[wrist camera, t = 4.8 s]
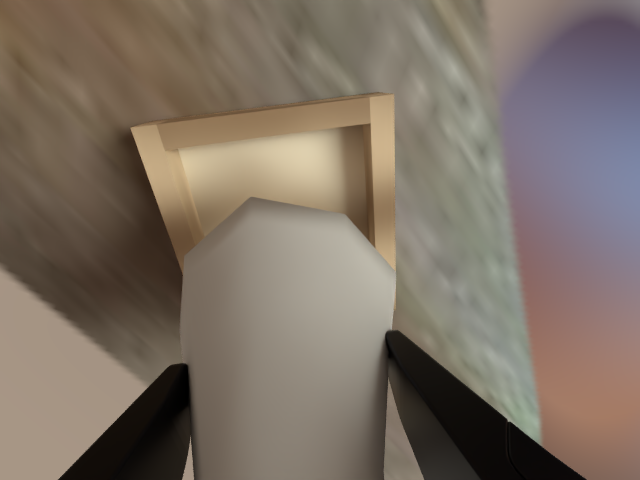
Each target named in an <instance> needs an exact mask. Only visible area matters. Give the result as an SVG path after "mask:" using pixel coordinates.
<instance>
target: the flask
mask: <svg viewBox="0 0 640 480" xmlns="http://www.w3.org/2000/svg"><path fill="white" fill-rule="evenodd" d="M395 287H396V271H395V270H394V269H393V268H392V267H391V266H390V265H389V263H388V262H387V261H386V260H385V259H384V258H383V257H382V255H381V254H380V253H379V252H378V251H377V250H376V249H375V248H374V246H373V245H372V244H371V243H370V242H369V241H368V240H367V238H366V237H365V236H364V235H363V234H362V233H361V232H360V230H359V229H358V228H357V227H356V226H355V225H354V224H353V222H352V221H351V220H350V219H349V218H348V217H347V216H346V215H345V214H343V213H337V212H332V211H326V210H321V209H316V208H310V207H305V206H300V205H294V204H289V203H283V202H278V201H273V200H267V199H262V198H257V197H250V198H248V199H247V200H246V201H245V202H244V203H243V204H242V205H241V206H239V207H238V208H237V209H236V210H235V211H234V212H233V213H232V214H231V215H229V216H228V217H227V218H226V219H225V220H224V221H223V222H222V223H220V224H219V225H218V226H217V227H216V228H215V229H214V230H213V231H212V232H210V233H209V234H208V235H207V236H206V237H205V238H204V239H203V240H201V241H200V242H199V243H198V244H197V245H196V246H195V247H194V248H192V249H191V250H190V251H189V252H188V253H187V254H186V255H185V256H184V268H183V283H182V299H181V314H180V340H181V350H182V358H183V363H186V364H187V365H188V405H189V418H190V431H191V444H192V457H193V470H194V480H384V473H383V469H384V449H385V429H386V409H387V389H388V369H389V350H388V346H387V342H386V338H385V334H386V332H387V331H391V330H392V320H393V310H394V299H395Z"/></svg>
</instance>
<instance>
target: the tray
mask: <svg viewBox="0 0 640 480" xmlns="http://www.w3.org/2000/svg"><path fill="white" fill-rule="evenodd" d="M131 131H132V134H133V136H134V139H135V142H136V145H137V147H138V150H139V153H140V156H141V159H142V161H143V164H144V167H145V170H146V173H147V175H148V178H149V181H150V184H151V187H152V189H153V192H154V195H155V198H156V201H157V203H158V206H159V209H160V212H161V215H162V217H163V220H164V223H165V226H166V229H167V231H168V234H169V237H170V240H171V243H172V245H173V248H174V251H175V254H176V257H177V259H178V262H179V265H180V268H181V271H182V273H183V268H184V256H185V255H186V254H187V253H188V252H189V251H190V250H191V249H192V248H194V247H195V246H196V245H197V244H198V243H199V242H200V241H201V240H203V239H204V238H205V237H206V236H207V235H208V234H209V233H210V232H212V231H213V230H214V229H215V228H216V227H217V226H218V225H219V224H220V223H222V222H223V221H224V220H225V219H226V218H227V217H228V216H229V215H231V214H232V213H233V212H234V211H235V210H236V209H237V208H238V207H239V206H241V205H242V204H243V203H244V202H245V201H246V200H247V199H248V198H250V197H257V198H262V199H267V200H273V201H278V202H283V203H289V204H294V205H300V206H305V207H310V208H316V209H321V210H326V211H332V212H337V213H343V214H345V215H346V216H347V217H348V218H349V219H350V220H351V221H352V222H353V224H354V225H355V226H356V227H357V228H358V229H359V230H360V232H361V233H362V234H363V235H364V236H365V237H366V238H367V240H368V241H369V242H370V243H371V244H372V245H373V246H374V248H375V249H376V250H377V251H378V252H379V253H380V254H381V255H382V257H383V258H384V259H385V260H386V261H387V262H388V263H389V265H390V266H391V267H392V268H393V269H394V270H395V153H394V94H389V93H380V92H377V93H369V94H361V95H353V96H346V97H338V98H330V99H322V100H314V101H306V102H298V103H291V104H283V105H275V106H267V107H259V108H251V109H243V110H236V111H228V112H220V113H212V114H204V115H196V116H188V117H181V118H173V119H165V120H157V121H151V122H148V123H144V124H141V125H138V126H134V127H131ZM394 310H396V289H395V299H394Z"/></svg>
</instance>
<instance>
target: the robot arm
mask: <svg viewBox="0 0 640 480" xmlns="http://www.w3.org/2000/svg"><path fill="white" fill-rule="evenodd" d="M385 338H386V342H387V346H388V350H389V369H388V377H389V381H390V385H391V388H392V392H393V395H394V399H395V403H396V406H397V410H398V413H399V416H400V419H401V422H402V425H403V427H404V430H405V432H406V435H407V437H408V440H409V442H410V445H411V447H412V450H413V452H414V455H415V457H416V460H417V462H418V465H419V467H420V470H421V472H422V475H423V477H424V480H586V479H585V478H584V477H582V476H581V475H580V474H578V473H577V472H575V471H574V470H573V469H571V468H570V467H568V466H567V465H566V464H564V463H563V462H561V461H560V460H559V459H557V458H556V457H555V456H553V455H552V454H551V453H549V452H548V451H547V450H545V449H544V448H543V447H542V446H540V445H539V444H538V443H537V442H535V441H534V440H533V439H531V438H530V437H529V436H528V435H526V434H525V433H524V432H523V431H521V430H520V429H519V428H518V427H516V426H515V425H514V424H513V423H512V422H508V420H507V419H506V418H505V417H504V416H503V415H502V414H500V413H499V412H498V411H497V410H495V409H494V408H493V407H492V406H491V405H489V404H488V403H487V402H486V401H484V400H483V399H482V398H481V397H480V396H478V395H477V394H476V393H475V392H473V391H472V390H471V389H470V388H469V387H467V386H466V385H465V384H464V383H462V382H461V381H460V380H459V379H457V378H456V377H455V376H454V375H453V374H451V373H450V372H449V371H448V370H446V369H445V368H444V367H443V366H442V365H440V364H439V363H438V362H437V361H435V360H434V359H433V358H432V357H431V356H429V355H428V354H427V353H426V352H424V351H423V350H422V349H421V348H420V347H418V346H417V345H416V344H415V343H413V342H412V341H411V340H410V339H408V338H407V337H406V336H405V335H404V334H402V333H401V332H400V331H398V330H391V331H387V332H386V334H385ZM190 437H191V431H190V418H189V405H188V365H187V364H186V363H180V364H174V365H170V366H169V367H168V368H167V369H166V370H165V371H164V372H163V373H162V374H161V375H160V376H159V377H158V378H157V379H156V380H155V381H154V382H153V383H152V384H151V385H150V386H149V387H148V388H147V389H146V390H145V391H144V392H143V393H142V394H141V395H140V396H139V397H138V398H137V399H136V400H135V401H134V402H133V403H132V404H131V406H130V407H129V408H128V409H127V410H126V411H125V412H124V413H123V414H122V415H121V416H120V417H119V418H118V419H117V420H116V421H115V422H114V423H113V424H112V425H111V426H110V427H109V428H108V429H107V430H106V431H105V432H104V433H103V434H102V435H101V436H100V437H99V438H98V439H97V440H96V441H95V442H94V443H93V444H92V445H91V446H90V448H89V449H88V450H87V451H86V452H85V453H84V454H83V455H82V456H81V457H80V458H79V459H78V460H77V461H76V462H75V463H74V464H73V465H72V466H71V467H70V468H69V469H68V470H67V471H66V472H65V473H64V474H63V475H62V476H61V477H60V478H59V479H58V480H182V477H183V473H184V469H185V465H186V460H187V456H188V450H189V443H190Z"/></svg>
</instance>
